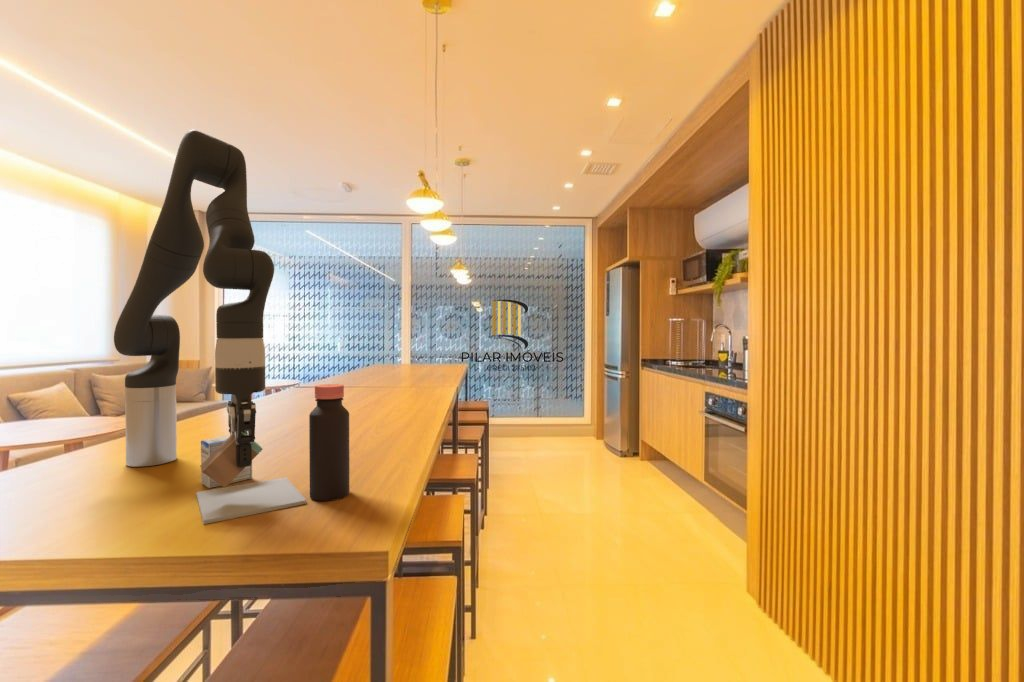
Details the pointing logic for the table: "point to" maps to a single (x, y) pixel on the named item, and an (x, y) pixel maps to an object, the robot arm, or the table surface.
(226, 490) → the rubber mat
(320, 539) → the table surface
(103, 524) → the table surface
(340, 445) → the bottle
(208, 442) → the medicine box
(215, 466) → the walnut block
